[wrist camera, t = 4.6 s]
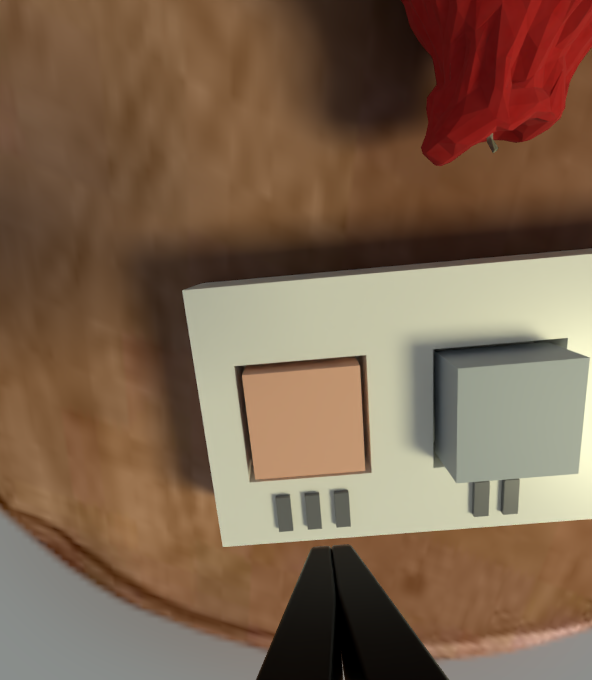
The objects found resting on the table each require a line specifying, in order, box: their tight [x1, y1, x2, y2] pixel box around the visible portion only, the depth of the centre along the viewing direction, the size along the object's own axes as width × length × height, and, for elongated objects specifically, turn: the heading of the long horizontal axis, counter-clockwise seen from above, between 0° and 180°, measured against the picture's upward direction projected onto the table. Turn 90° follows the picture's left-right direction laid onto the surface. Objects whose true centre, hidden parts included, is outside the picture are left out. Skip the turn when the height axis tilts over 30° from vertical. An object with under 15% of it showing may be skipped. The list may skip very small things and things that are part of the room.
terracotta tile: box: [242, 356, 365, 480], centre depth 16 cm, size 4×4×2 cm
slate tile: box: [434, 342, 590, 483], centre depth 14 cm, size 4×4×2 cm
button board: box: [182, 248, 592, 547], centre depth 16 cm, size 23×11×3 cm, turn 95°
